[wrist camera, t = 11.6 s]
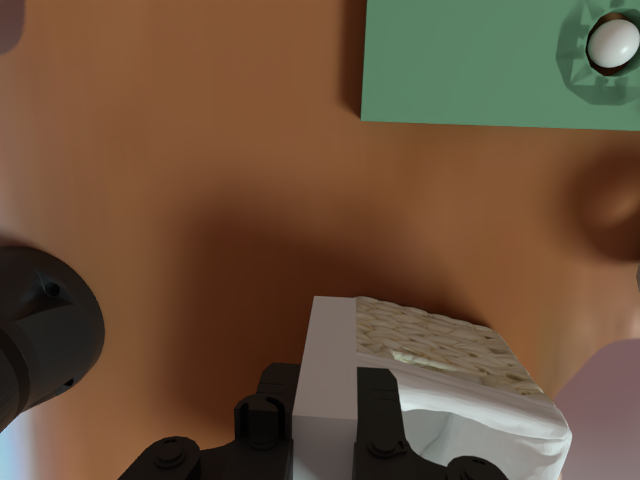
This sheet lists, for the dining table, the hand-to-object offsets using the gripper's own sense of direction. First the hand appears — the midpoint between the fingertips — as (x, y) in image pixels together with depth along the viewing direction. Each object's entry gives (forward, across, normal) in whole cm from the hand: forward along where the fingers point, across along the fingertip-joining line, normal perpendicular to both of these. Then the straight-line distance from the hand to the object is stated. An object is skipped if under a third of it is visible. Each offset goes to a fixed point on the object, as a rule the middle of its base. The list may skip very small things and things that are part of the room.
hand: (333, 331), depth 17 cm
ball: (+23, -19, -12) cm, 32 cm away
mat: (+24, -13, -12) cm, 30 cm away
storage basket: (+25, -5, +21) cm, 33 cm away
